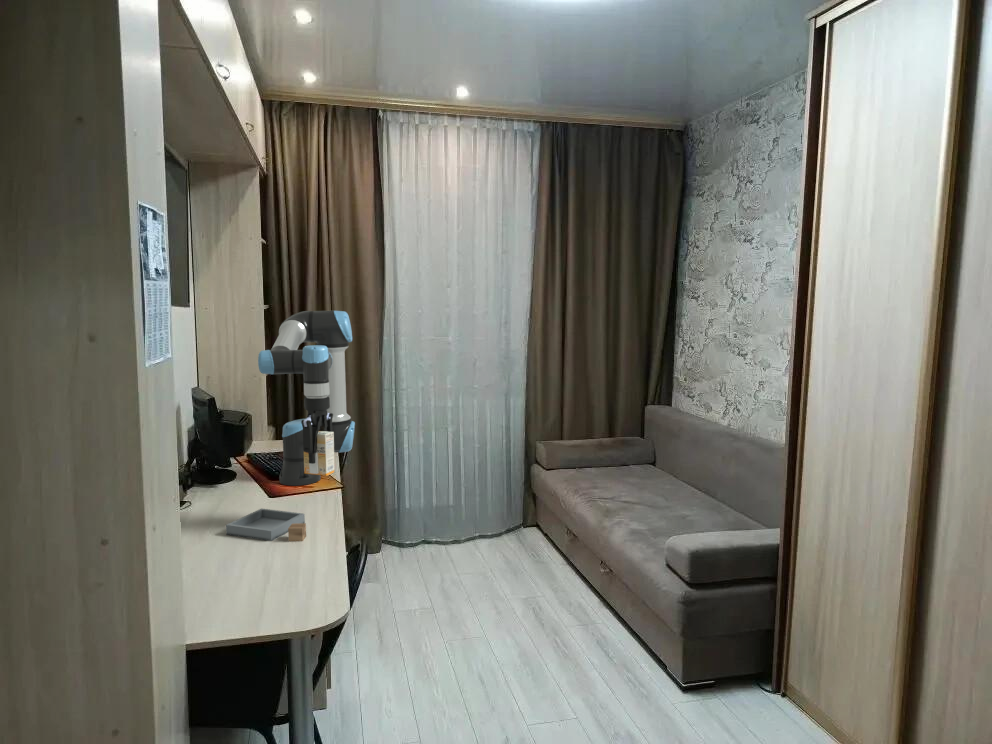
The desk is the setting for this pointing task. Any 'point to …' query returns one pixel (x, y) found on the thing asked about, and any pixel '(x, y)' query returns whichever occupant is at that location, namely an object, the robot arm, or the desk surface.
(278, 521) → the tray
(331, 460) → the supplement box
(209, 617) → the desk surface
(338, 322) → the robot arm
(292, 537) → the walnut block
